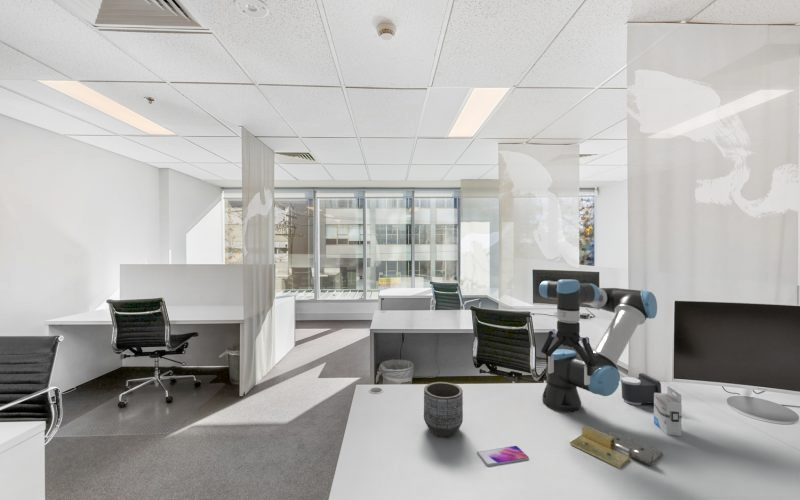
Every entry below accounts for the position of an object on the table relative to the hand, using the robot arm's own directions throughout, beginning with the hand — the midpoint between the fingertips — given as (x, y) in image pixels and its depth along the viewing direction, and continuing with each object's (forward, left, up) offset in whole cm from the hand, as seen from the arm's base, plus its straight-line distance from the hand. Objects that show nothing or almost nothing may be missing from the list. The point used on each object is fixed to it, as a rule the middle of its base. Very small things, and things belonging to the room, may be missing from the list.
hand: (568, 378), depth 121 cm
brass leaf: (+13, -4, -19) cm, 23 cm away
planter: (-26, -39, -19) cm, 51 cm away
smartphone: (-3, -34, -19) cm, 39 cm away
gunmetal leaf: (+18, +4, -19) cm, 26 cm away
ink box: (+21, +30, -19) cm, 41 cm away
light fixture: (+6, +47, -19) cm, 51 cm away
